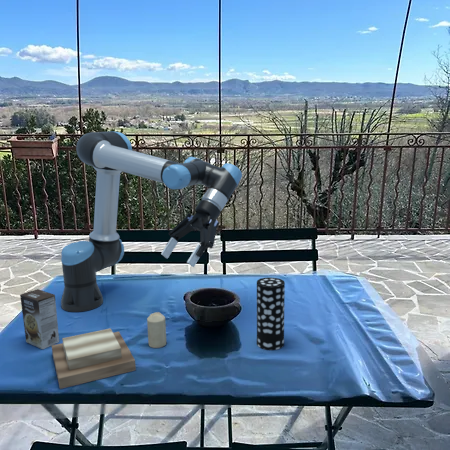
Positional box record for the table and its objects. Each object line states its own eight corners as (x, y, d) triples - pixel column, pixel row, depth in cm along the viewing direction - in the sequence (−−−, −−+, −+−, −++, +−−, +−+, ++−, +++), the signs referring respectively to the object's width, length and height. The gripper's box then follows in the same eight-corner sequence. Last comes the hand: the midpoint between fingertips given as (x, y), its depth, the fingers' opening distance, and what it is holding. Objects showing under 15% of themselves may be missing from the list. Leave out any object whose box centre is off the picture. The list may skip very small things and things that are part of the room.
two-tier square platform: (52, 354, 134) (50, 336, 133) (119, 340, 143) (118, 322, 141) (59, 389, 117) (57, 368, 115) (135, 370, 125) (134, 350, 124)
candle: (163, 348, 137) (161, 318, 134) (145, 347, 138) (144, 317, 136) (168, 340, 142) (167, 310, 140) (152, 339, 143) (150, 309, 141)
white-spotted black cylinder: (266, 352, 133) (266, 288, 129) (251, 341, 140) (251, 280, 136) (289, 346, 137) (290, 283, 133) (274, 335, 144) (274, 275, 140)
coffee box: (25, 342, 142) (18, 294, 139) (43, 334, 147) (37, 288, 144) (42, 350, 137) (36, 300, 134) (60, 341, 142) (55, 293, 139)
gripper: (244, 217, 140) (209, 274, 133) (194, 208, 158) (161, 259, 152) (231, 202, 135) (194, 261, 129) (181, 195, 154) (146, 247, 147)
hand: (176, 260), depth 140 cm, fingers open, 13 cm apart
